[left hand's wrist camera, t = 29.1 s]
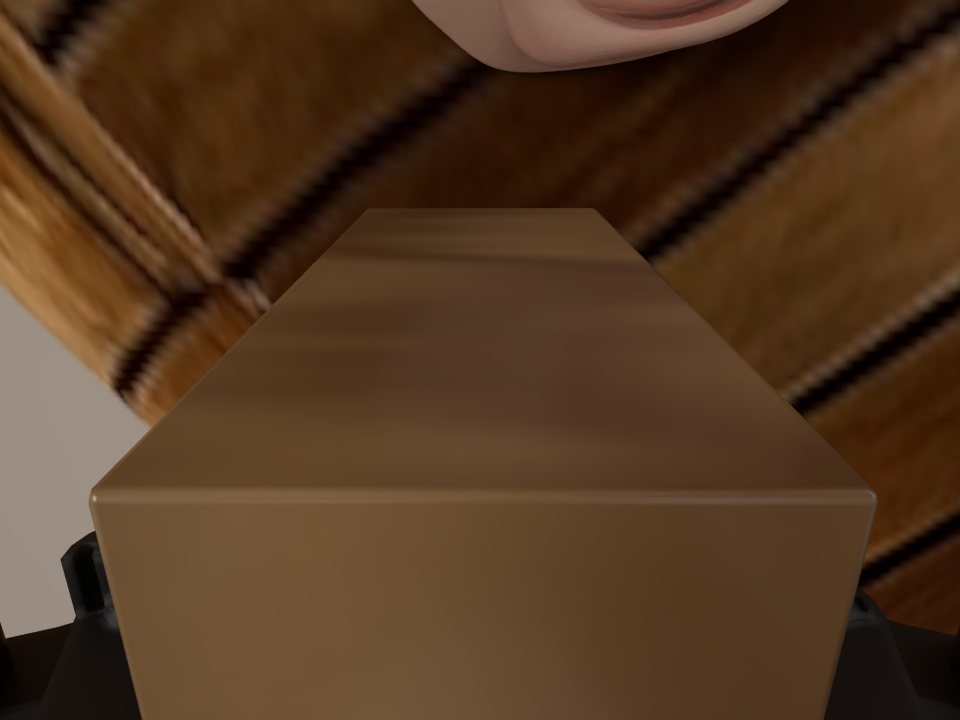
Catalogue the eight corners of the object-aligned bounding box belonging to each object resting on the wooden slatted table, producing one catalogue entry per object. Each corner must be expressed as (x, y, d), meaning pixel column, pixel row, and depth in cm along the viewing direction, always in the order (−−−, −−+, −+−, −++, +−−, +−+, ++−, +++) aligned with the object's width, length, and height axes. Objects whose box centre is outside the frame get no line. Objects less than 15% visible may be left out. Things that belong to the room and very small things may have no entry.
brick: (385, 534, 18) (248, 1172, 7) (366, 207, 15) (79, 493, 4) (575, 534, 18) (713, 1172, 7) (596, 207, 15) (888, 493, 4)
